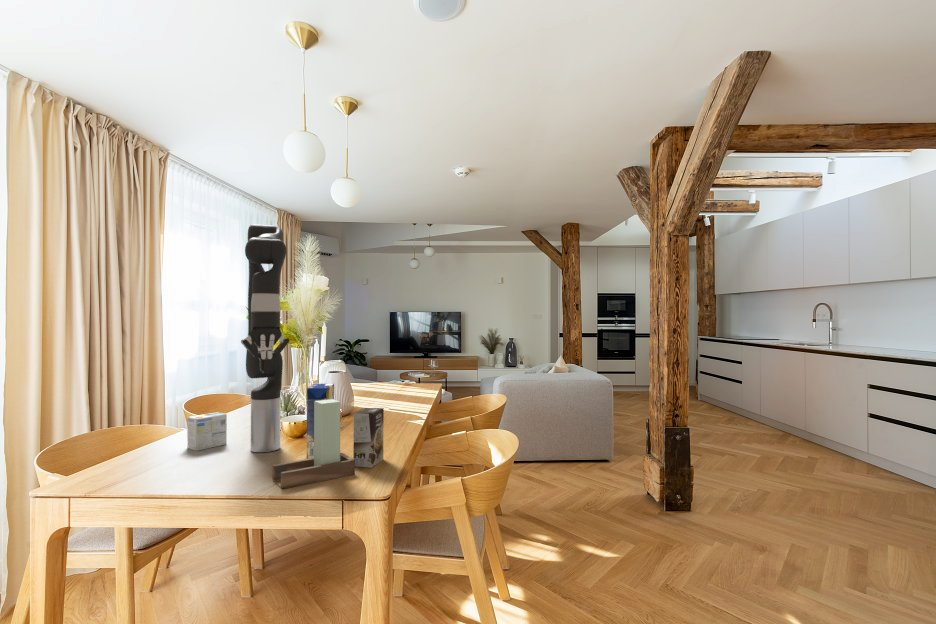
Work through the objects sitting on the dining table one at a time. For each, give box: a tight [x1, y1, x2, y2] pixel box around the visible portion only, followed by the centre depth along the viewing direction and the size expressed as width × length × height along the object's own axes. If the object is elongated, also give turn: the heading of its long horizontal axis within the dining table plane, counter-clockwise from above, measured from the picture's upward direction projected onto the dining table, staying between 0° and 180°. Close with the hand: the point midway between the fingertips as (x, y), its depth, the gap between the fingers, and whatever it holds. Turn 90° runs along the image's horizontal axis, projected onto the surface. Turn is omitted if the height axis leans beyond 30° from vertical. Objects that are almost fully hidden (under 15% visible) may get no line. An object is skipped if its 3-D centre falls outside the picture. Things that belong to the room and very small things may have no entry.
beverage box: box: [306, 383, 335, 459], centre depth 159 cm, size 7×11×22 cm, turn 8°
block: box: [314, 398, 341, 466], centre depth 138 cm, size 6×6×20 cm
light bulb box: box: [186, 411, 228, 452], centre depth 168 cm, size 11×7×11 cm, turn 144°
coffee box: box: [352, 407, 385, 469], centre depth 149 cm, size 9×6×16 cm
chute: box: [271, 452, 356, 490], centre depth 136 cm, size 9×20×4 cm, turn 127°
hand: (265, 372), depth 136 cm, fingers closed
